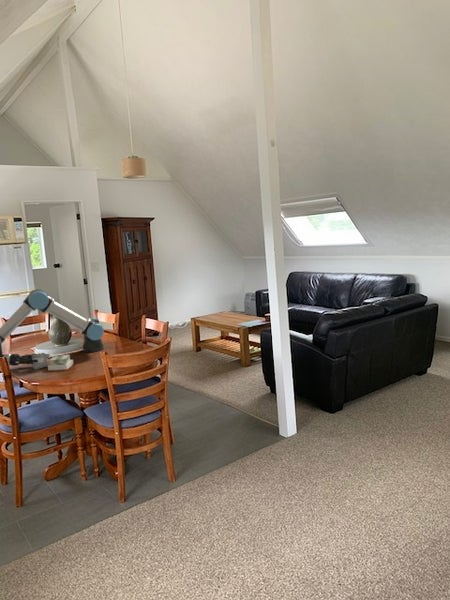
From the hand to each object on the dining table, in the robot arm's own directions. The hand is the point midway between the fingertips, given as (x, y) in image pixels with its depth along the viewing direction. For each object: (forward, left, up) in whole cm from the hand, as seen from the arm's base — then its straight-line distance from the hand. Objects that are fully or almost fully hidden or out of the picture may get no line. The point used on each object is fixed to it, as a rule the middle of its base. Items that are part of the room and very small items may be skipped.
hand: (46, 358), depth 291 cm
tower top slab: (-9, +1, -3) cm, 10 cm away
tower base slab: (-9, +1, -7) cm, 12 cm away
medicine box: (+5, 0, -6) cm, 8 cm away
